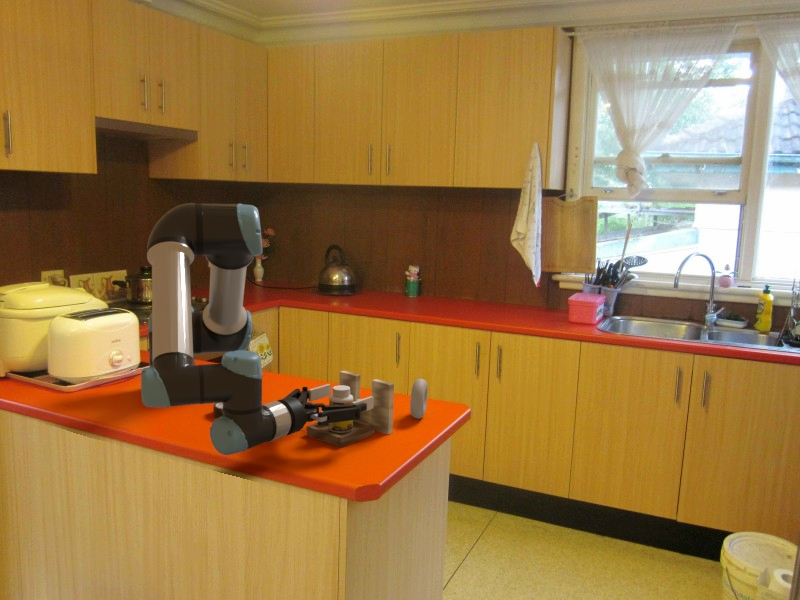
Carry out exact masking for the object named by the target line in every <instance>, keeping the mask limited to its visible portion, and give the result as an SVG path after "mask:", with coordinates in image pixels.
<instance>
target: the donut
mask: <svg viewBox="0 0 800 600" xmlns="http://www.w3.org/2000/svg"><path fill="white" fill-rule="evenodd" d="M428 388H429V387H428V382H427V381H426V380H425V379H424V378H418V379H416V380H414V382H413V384H412V388H411V393H410V401H409V402H410V403H409V404H410V405H409V406H410V407H409V409H410V415H411V416H412V417H413V418H414V419H422V418H423V417H424V415H425V413H426V410H427V404H428V396H429V395H428V393H429V392H428Z"/></svg>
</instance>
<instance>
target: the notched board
mask: <svg viewBox="0 0 800 600" xmlns="http://www.w3.org/2000/svg"><path fill="white" fill-rule="evenodd" d="M338 385H345V386H349V387H350V394H351V395H352V396H353V402H355V401H358V400H361V399H362V398H361V374H359V373H354V372H351V371H347V370H340V371H339V384H338ZM394 391H395V385H394V383H392V382H389V381H385V380H382V379H377V378H375V379H372V380H371V396H373V397H374V408H373V409H370V410H367V411H364V412H362V413H361V419H358V420H359V421H362V422H365V423H368V424H371V425H374V431H377V432H380V433H382V434H385V435H390V434H392V433H393V432H394V431H393V429H394V427H393V425H394V398H395V397H394Z"/></svg>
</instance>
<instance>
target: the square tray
mask: <svg viewBox="0 0 800 600" xmlns="http://www.w3.org/2000/svg"><path fill="white" fill-rule="evenodd" d="M374 435H375V430H374V425H371V424H368V423H365V422H362V421H359V420H353V429H352V430H351V431H350V432H348V433H343V434H338V433H333V432H331V431H330V430H329V423H328V424H324V425H318V421H317V422H314V423H312V424H309V425H306V436H308V437H310V438H313V439H316V440H319V441H320V442H323V443H327V444H330V445H333V446H335V447H337V448H344V447H347V446H350V445H351V444H354V443H357V442H359V441H362V440H364V439H367V438H369V437H371V436H374Z"/></svg>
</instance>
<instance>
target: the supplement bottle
mask: <svg viewBox="0 0 800 600" xmlns="http://www.w3.org/2000/svg"><path fill="white" fill-rule="evenodd" d="M328 397H329V398H328V405H351V404H352V402H353V396H352V395H351V394H350V387H349V386H345V385H339V384H338V385H335V386H333V387H332V394H331V395H330V396H328ZM352 429H353V420H350V421H342V422H334V423H329V430H330V431H331V432H333V433H338V434H343V433H348V432H350V431H351V430H352Z"/></svg>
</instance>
